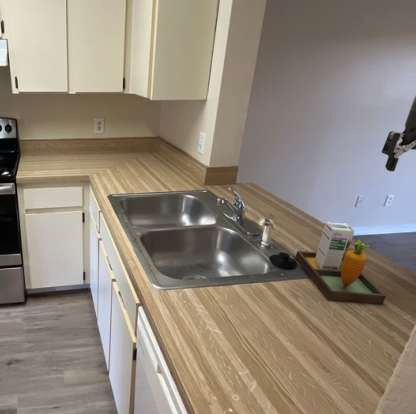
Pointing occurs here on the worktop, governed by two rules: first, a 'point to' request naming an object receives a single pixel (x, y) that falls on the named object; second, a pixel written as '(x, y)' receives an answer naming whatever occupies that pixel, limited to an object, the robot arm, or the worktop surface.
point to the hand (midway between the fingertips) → (407, 171)
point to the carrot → (353, 263)
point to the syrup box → (333, 245)
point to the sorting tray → (339, 282)
